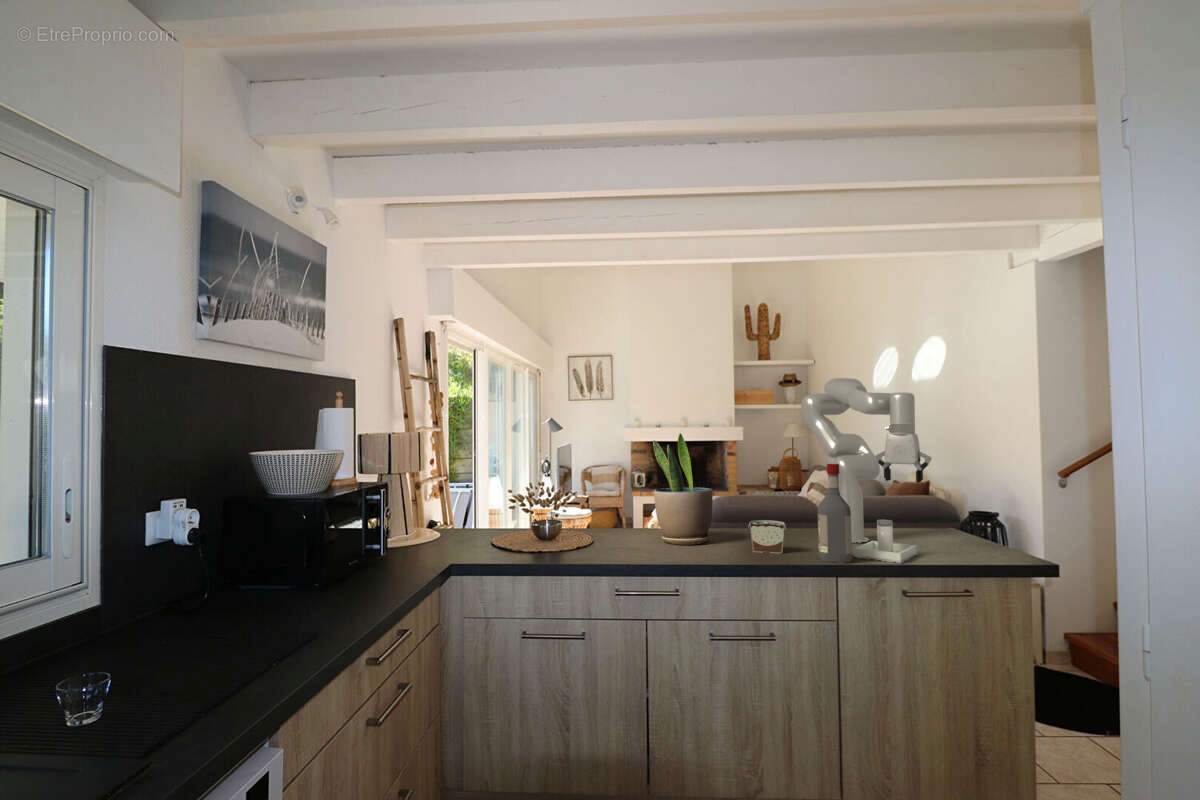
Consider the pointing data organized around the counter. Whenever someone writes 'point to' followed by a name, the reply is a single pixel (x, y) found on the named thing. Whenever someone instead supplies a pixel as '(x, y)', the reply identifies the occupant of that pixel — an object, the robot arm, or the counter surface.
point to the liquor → (834, 522)
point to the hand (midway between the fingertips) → (903, 481)
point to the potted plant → (681, 500)
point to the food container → (767, 535)
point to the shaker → (885, 535)
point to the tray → (898, 555)
